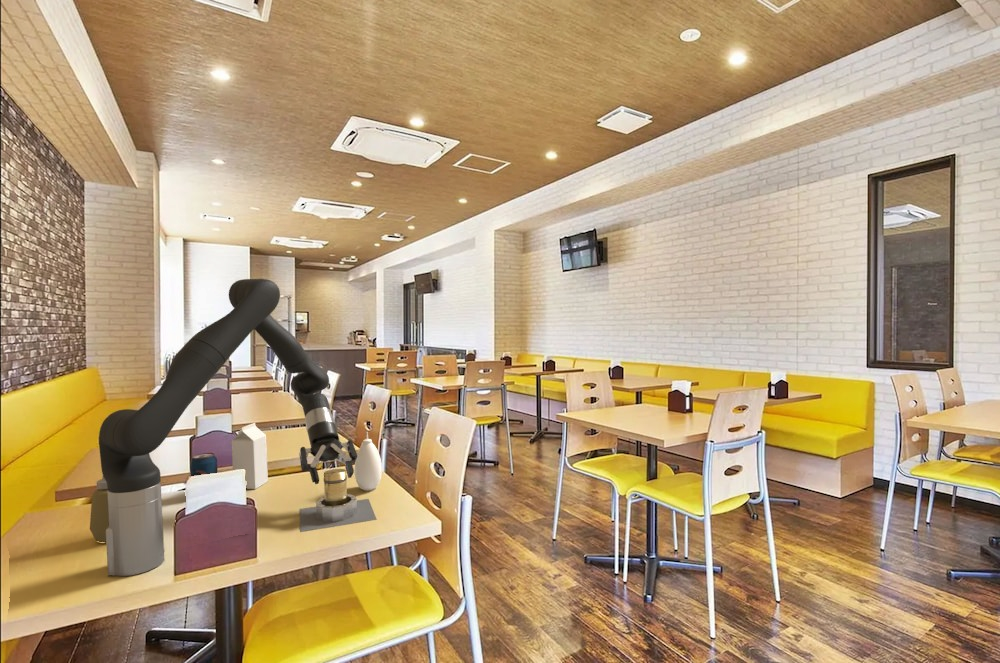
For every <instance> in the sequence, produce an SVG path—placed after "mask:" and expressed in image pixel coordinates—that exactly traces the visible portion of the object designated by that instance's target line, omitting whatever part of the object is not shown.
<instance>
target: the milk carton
mask: <svg viewBox="0 0 1000 663" xmlns="http://www.w3.org/2000/svg"><path fill="white" fill-rule="evenodd" d="M267 446H268V445H267V434H265V433H264V432H263V431H262V430H261V429H260V428H258V426H256V422H253V423H250V424H247V425H244V426H242V427H241V429H240V430H239V431H238V432H237V435H236V436H235V437H234V438H233V439H232V440H231V456H232V457H231V458H232V459H231V460H232V471H233V470H235V469H245V470H246V476H245V479H246V481H247V485H246V488H247V489H246V490H256V489H258V488H260V487H261V486H263V485H265V484H266V483H267V482H269V475H268V453H267V452H268V451H267V449H268V448H267ZM266 478H267V479H266Z"/></svg>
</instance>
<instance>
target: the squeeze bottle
mask: <svg viewBox="0 0 1000 663" xmlns="http://www.w3.org/2000/svg"><path fill="white" fill-rule="evenodd" d="M90 506H91V507H90V518H89V520H90V521H89V530H90V532H91V534H92V536H93V538H94V540H95V542H96V541H99V542H106V530H107V529H108V527H109V510H108V490H107V483H106V480H105V478H104V476H103V475H102V478H101V479H98V480H96V490H94V491H93V492H92V494H91V505H90Z"/></svg>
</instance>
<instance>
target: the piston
mask: <svg viewBox="0 0 1000 663" xmlns="http://www.w3.org/2000/svg"><path fill="white" fill-rule="evenodd" d="M347 479H348V475H347V471H346V468H345V469H344V468H333V469H329V470H326V471H324V472H323V485H324V486H323V489H324V493H323V494H324V497H325V506H339V505H343V504H346V503H347V494H348V490H347V489H348V488H347V486H348V485H347Z"/></svg>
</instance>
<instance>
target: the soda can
mask: <svg viewBox="0 0 1000 663" xmlns="http://www.w3.org/2000/svg"><path fill="white" fill-rule="evenodd" d="M189 468H190V470H189V471H190V472H189V473H190V477H191V476H194V475H201V474H210V473H217V472H218V460H217V457H216V456H215V453H214V452H203V453H202V452H201V453H197V454H194V455H192V457H191V460H190V462H189ZM218 473H219V472H218Z"/></svg>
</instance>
